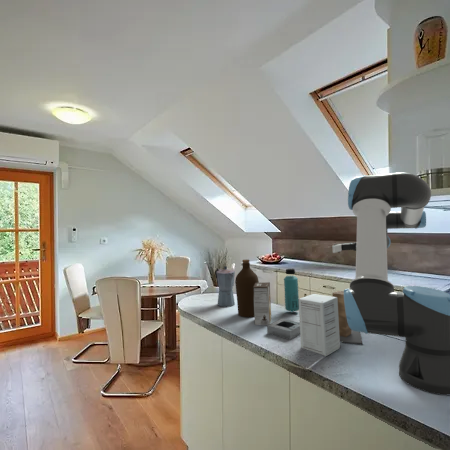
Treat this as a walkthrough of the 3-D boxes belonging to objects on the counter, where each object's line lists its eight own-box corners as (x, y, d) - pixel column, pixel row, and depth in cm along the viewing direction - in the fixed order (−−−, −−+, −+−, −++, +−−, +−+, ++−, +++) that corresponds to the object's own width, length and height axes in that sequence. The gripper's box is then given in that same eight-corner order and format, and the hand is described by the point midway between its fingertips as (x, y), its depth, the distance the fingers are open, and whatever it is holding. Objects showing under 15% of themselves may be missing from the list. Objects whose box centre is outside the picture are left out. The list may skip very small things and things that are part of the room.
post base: (304, 332, 119) (304, 323, 119) (290, 340, 112) (290, 331, 112) (282, 327, 126) (282, 318, 126) (267, 334, 119) (266, 325, 119)
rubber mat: (362, 344, 106) (362, 342, 106) (325, 341, 110) (324, 340, 110) (359, 330, 119) (359, 328, 119) (325, 328, 123) (325, 326, 123)
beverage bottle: (292, 315, 140) (290, 270, 140) (281, 312, 146) (280, 269, 145) (302, 312, 144) (300, 268, 143) (292, 309, 149) (290, 267, 149)
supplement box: (341, 348, 104) (339, 297, 104) (326, 357, 98) (323, 303, 97) (315, 340, 111) (313, 292, 111) (299, 349, 105) (297, 298, 105)
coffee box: (256, 319, 138) (255, 282, 138) (271, 319, 137) (270, 282, 136) (254, 326, 129) (252, 286, 129) (270, 326, 128) (268, 286, 127)
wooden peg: (351, 333, 114) (349, 292, 114) (346, 337, 111) (344, 294, 111) (339, 331, 118) (337, 290, 117) (334, 334, 114) (332, 293, 114)
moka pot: (228, 309, 155) (226, 268, 154) (208, 304, 166) (206, 266, 166) (242, 305, 161) (240, 265, 161) (222, 300, 173) (220, 263, 172)
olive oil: (249, 319, 138) (246, 262, 137) (232, 315, 145) (229, 260, 145) (264, 313, 145) (262, 259, 145) (247, 309, 153) (245, 257, 152)
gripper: (403, 254, 128) (386, 261, 112) (342, 252, 145) (320, 258, 130) (402, 236, 127) (385, 240, 112) (342, 236, 145) (319, 239, 129)
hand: (350, 249), depth 121 cm, fingers open, 13 cm apart
